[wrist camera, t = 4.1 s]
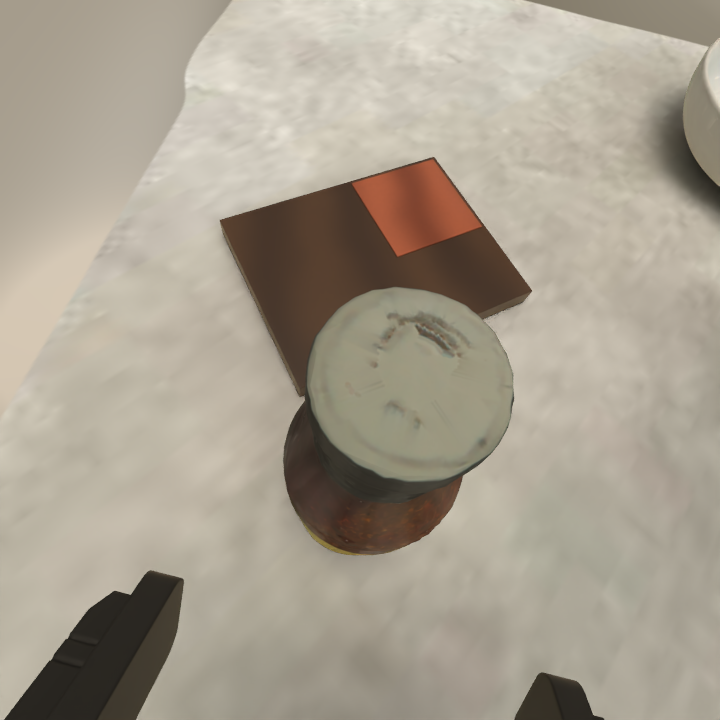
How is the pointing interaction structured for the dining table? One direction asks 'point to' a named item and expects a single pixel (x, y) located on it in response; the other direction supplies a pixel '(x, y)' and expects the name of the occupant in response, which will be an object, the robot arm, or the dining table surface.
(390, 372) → the sauce bottle
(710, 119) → the serving bowl
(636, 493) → the dining table surface
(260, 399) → the dining table surface
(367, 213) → the walnut board
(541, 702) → the robot arm
